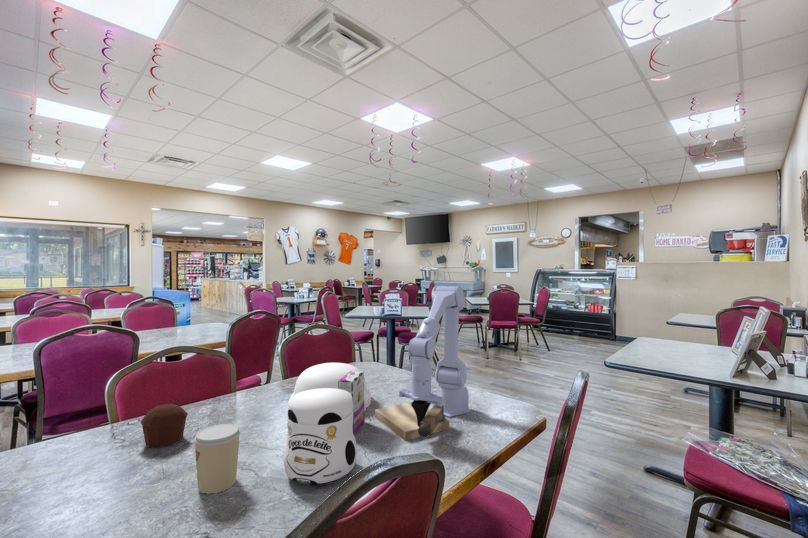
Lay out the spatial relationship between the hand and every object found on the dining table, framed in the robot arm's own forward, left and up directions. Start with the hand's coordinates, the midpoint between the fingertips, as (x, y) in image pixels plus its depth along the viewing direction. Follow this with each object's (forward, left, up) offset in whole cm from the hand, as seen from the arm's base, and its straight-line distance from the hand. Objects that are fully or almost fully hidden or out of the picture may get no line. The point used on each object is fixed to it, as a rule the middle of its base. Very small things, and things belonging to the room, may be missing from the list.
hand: (421, 425), depth 106 cm
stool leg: (-4, 0, 0) cm, 4 cm away
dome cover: (+13, -43, -4) cm, 45 cm away
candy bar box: (+15, -17, -4) cm, 23 cm away
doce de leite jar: (+31, +3, -4) cm, 31 cm away
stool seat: (-3, -11, -4) cm, 12 cm away
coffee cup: (+53, -4, -4) cm, 53 cm away
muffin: (+65, -36, -4) cm, 74 cm away
